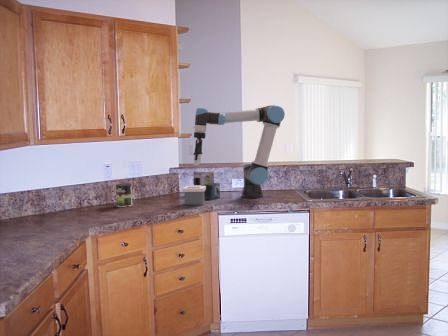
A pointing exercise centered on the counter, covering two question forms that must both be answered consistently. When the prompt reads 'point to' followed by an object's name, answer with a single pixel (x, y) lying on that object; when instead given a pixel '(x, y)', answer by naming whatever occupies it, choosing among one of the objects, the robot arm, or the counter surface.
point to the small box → (212, 191)
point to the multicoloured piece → (124, 195)
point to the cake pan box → (203, 177)
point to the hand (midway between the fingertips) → (197, 164)
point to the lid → (194, 188)
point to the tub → (194, 198)
